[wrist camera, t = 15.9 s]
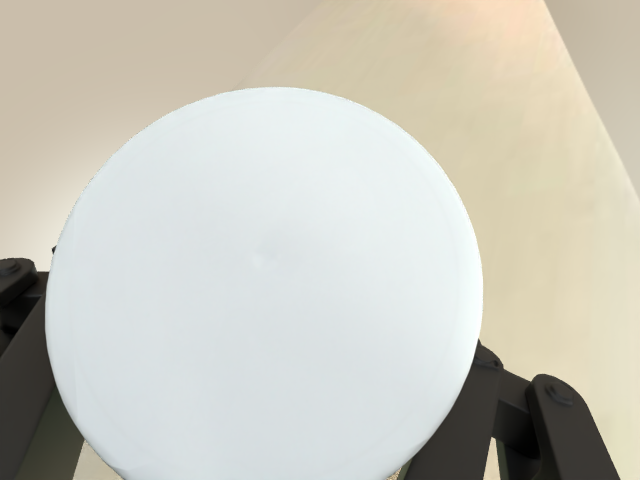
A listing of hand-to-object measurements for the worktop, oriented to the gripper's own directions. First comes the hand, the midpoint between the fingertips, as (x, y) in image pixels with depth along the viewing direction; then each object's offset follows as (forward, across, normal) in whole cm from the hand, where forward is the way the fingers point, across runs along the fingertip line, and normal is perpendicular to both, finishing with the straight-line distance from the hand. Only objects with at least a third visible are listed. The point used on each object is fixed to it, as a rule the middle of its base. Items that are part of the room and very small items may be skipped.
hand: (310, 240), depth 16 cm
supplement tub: (+2, 0, -6) cm, 7 cm away
